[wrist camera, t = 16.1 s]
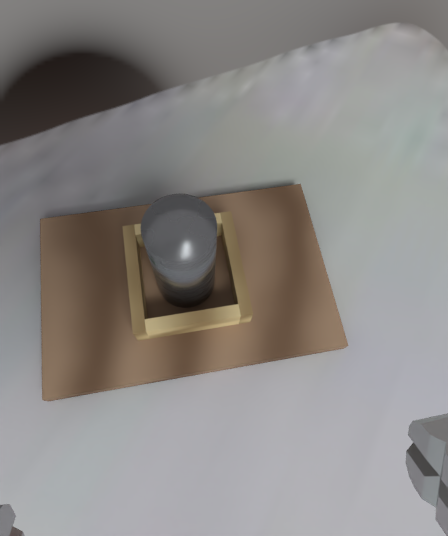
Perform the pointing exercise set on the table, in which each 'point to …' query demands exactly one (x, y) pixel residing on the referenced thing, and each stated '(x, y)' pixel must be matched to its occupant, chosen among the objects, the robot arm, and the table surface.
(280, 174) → the table surface
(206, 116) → the table surface
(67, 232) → the collar board
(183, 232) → the cylinder
